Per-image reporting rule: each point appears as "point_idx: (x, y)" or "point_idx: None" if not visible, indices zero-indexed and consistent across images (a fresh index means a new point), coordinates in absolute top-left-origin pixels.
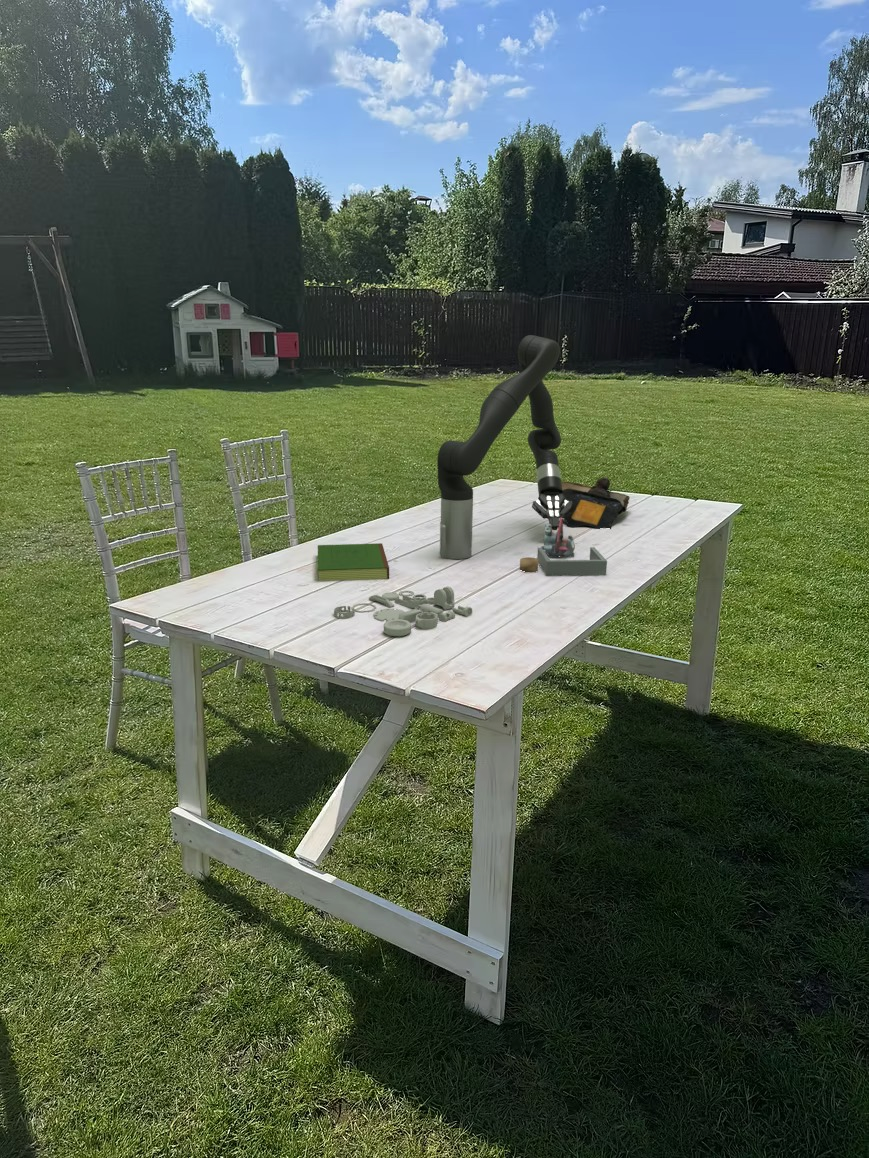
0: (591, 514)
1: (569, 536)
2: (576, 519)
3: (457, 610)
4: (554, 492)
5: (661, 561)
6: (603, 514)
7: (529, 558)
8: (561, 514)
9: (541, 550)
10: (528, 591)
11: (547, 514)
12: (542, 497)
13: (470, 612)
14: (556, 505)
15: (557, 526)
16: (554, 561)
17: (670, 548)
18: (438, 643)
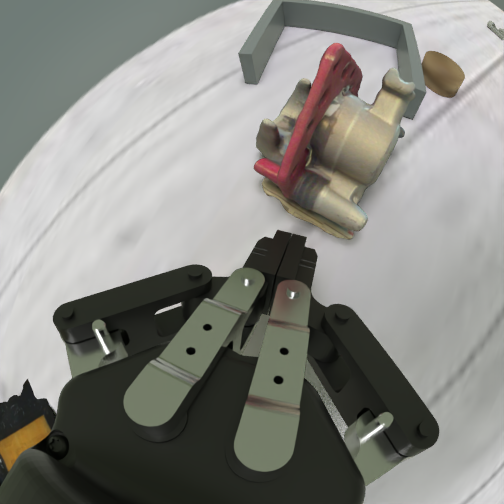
0: None
1: (274, 123)
2: None
3: (500, 32)
4: (127, 497)
5: (109, 80)
6: (12, 429)
7: (445, 71)
8: (209, 273)
9: (417, 71)
10: (436, 25)
11: (320, 316)
12: (325, 491)
13: (488, 25)
14: (213, 327)
15: (279, 230)
16: (394, 18)
17: (31, 166)
18: (493, 15)
